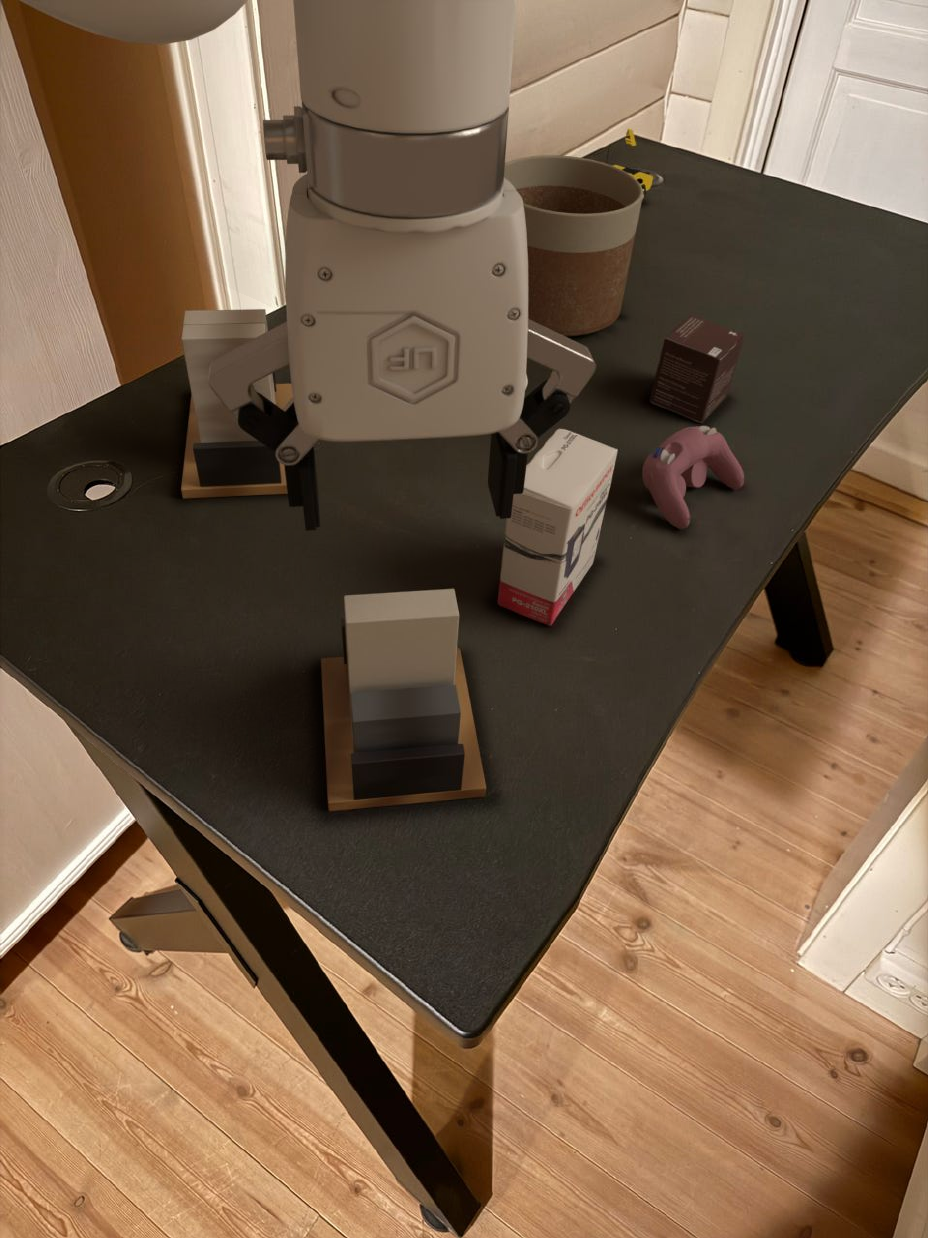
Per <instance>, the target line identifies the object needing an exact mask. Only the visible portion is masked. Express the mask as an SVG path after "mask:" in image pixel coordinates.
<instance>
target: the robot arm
mask: <svg viewBox="0 0 928 1238" xmlns="http://www.w3.org/2000/svg"><path fill="white" fill-rule="evenodd" d="M19 1H20V2H21V3H22V4H25V5H27V6H29V7H31V8H33V9H34V10H37V11H39V12H41V13H43V14H46V15H48V16H50V17H52V18H53V19H56V20H58V21H61V22H62V23H65V24H68V25H71V26H73V27H75V28H78V29H80V30H83V31H86V32H89V33H92V34H95V35H98V36H101V37H105V38H110V39H114V40H118V41H120V42H125V43H131V44H140V45H141V44H142V45H156V46H158V45H159V46H162V45H169V44H174V43H181V42H188V41H191V40H194V39H196V38H199V37H201V36H203V35H205V34H208V33H211V32H213V31H215V30H216V29H218V28H219V27H221V26H222V25H223V24H224V23H226V22H227V21H228V20H229V19H231V18H233V17H234V16H235V15H236V14H237V13H238V12H239V11H240V10H241V9H242V7H244V5H246V3H247V2H248V1H249V0H19ZM292 3H293V4H292V5H293V15H294V27H295V40H296V41H295V42H296V52H297V53H296V55H297V65H298V66H297V67H298V78H299V92H300V100H301V106H300V105H295V106H293V115H291V114H290V115H285V114H284V115H283V116H282V119H262V131H263V143H264V153H265V158H266V161H286V164H287V165H297V167H298V174H304V175H302V176H301V177H299V178H298V179H297V180H296V181H295V183H294V184H293V186H292V189H291V194H290V197H289V203H288V204H289V205H288V210H287V219H286V221H287V222H286V231H285V245H284V246H285V248H284V249H285V251H284V252H285V254H284V255H285V256H284V257H285V258H284V259H285V260H284V261H285V266H284V267H285V269H284V271H285V273H284V289H285V307H286V308H285V309H286V310H285V311H286V321H285V322H283V323H281V324H279V325H277V326H275V327H273V328H271V329H270V330H268V332H266V333H264V334H262V335H260V336H258V337H256V338H254V339H252V340H251V341H249V342H247V343H245V344H243V345H241V346H239V347H237V348H235V349H234V350H232V351H230V352H228V353H226V354H224V355H222V356H220V357H218V358H217V359H215V360H213V361H212V362H211V364H210V368H209V379H208V383H209V386H210V388H211V389H212V390H213V392H214V393H215V394H216V395H217V397H218V398H219V399H220V400H221V402H222V403H223V404H224V405H225V407H226V408H227V409H228V410H229V412H230V413H231V412H232V413H233V415H234V416H235V417H236V418H237V420H238V425H239V426H240V428H241V429H242V430H243V431H245V432H246V433H248V434H249V435H251V436H252V437H254V438H255V439H256V440H258V441H259V442H261V443H262V444H264V445H265V446H267V447H268V448H270V449H271V450H272V451H274V452H275V453H276V459H277V460H278V461H279V462H280V463H281V464H283V465H284V467H285V475H286V484H287V492H288V494H287V498H288V506H289V508H295V507H296V508H298V507H302V508H303V518H304V527H305V528H304V529H305V532H307V531H308V532H309V531H317V528H321V520H320V518H321V517H320V502H319V488H318V487H319V486H318V477H317V465H316V454H315V445H316V444H317V443H318V442H319V441H324V442H334V443H358V442H360V443H361V442H383V441H384V442H385V441H405V440H408V441H409V440H427V439H429V440H430V439H445V438H462V437H476V436H485V435H490V448H489V459H488V472H487V486H488V490H489V494H490V497H491V503H492V505H493V509H494V513H495V517H499V519H500V520H506V519H508V518H511V514H512V504H513V495H514V494H522V493H523V491H524V483H525V474H526V465H528V457H529V456H528V455H529V454H530V453H532V452H533V451H535V450H536V449H537V447H538V446H539V438H540V437H541V436H543V435H544V434H545V433H546V432H548V431H549V430H550V429H551V428H553V427H554V426H555V425H557V424H558V423H559V422H560V421H561V420H562V419H563V418H565V417H566V416H567V415H568V414H569V413H570V411H571V407H572V406H571V403H572V402H573V401H574V400H575V399H576V398H578V396H579V395H580V393H581V392H582V391H583V389H584V388H585V387H586V385H587V384H588V383H589V381H590V380H591V378H592V377H593V375H594V374H595V372H596V370H597V364H596V361H595V360H594V358H593V355H592V353H591V351H590V349H589V347H588V346H586V345H584V344H582V343H580V342H577V341H576V340H573V339H572V338H570V337H565V336H563V335H561V334H559V333H557V332H555V331H553V330H551V329H549V328H547V327H545V326H542V325H540V324H538V323H536V322H534V321H532V320H530V319H528V252H527V233H526V222H525V213H524V206H523V200H522V198H521V196H520V194H519V193H518V192H517V191H516V189H515V187H514V186H513V185H512V184H511V183H510V182H509V181H508V180H507V179H505V178H504V169H505V163H506V155H507V140H508V138H507V137H508V127H509V126H508V125H509V111H510V107H509V106H510V97H511V87H512V73H513V60H514V59H513V57H514V44H515V43H514V42H515V28H516V27H515V25H516V12H517V11H516V10H517V0H292ZM528 360H530V361H532V362H534V363H537V364H539V365H541V366H543V367H546V368H547V369H550V370H551V373H550V374H549V375H550V376H549V378H548V379H546V380H544V381H543V382H541V383H540V384H539V385H538V386H537V387H536V388H534V389H533V390H532V391H531V392H530V393H528V394H527V395H525V394H526V390H525V384H526V375H527V363H528ZM287 366H289V374H290V384H292V392H293V397H292V398H291V400H290V401H289V402H288V403H287V404H286V406H285V407H284V408H283V409H281V408H279V407H278V406H277V405H275V404H274V403H273V402H271V401H270V400H268V399H267V398H266V397H264V396H263V395H262V394H260V393H258V392H256V391H255V389H254V386H253V385H252V384H253V383H254V382H256V381H258V380H260V379H262V378H264V377H266V376H268V375H270V374H272V373H274V372H275V373H276V372H278V371H280V370H281V369H283V368H286V367H287Z"/></svg>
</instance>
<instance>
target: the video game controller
mask: <svg viewBox="0 0 928 1238" xmlns="http://www.w3.org/2000/svg"><path fill="white" fill-rule="evenodd" d="M708 468H709V469H710V470H711V471H712V472H713V473H714V475H715V476H716V477H717V478H718V479H719V481H721V482H722V483H723V484H724V485H725V486H726V487H728V488H730V489H732V490H735V491H737V490H739V489H741V488H742V487H743V486H744V483H745V474H744V470H743V468H742V466H741V464H740V462H739V461H738V460H737V457H735V455H734V453H733V452H732V450H731V448H730V447H729V445H728V443H727V441H726V439H725V437H724V435H723V434H722V433H720V432H719V431H717V428H716V427H709V426H708V425H701V426H699V425H698V426H697V425H696V426H687V427H684V428H681V429H680V430H677V431H676V432H674V433H673V434H671V435H670V436H669V437H667V439H665V440H664V441H663V442H662V443H661V444H660V445H659V447H658V448H657V449H656V450H655V451H653V452H651V453H650V454H649V455H648V456H647V457H646V459H645V460H644V461H643V466H642V470H641V471H642V472H641V473H642V481H643V485H644V487H645V488H646V489H647V490H648V491H649V493H650V495H651V497H652V499H653V501H654V503H655V505H656V507H657V509H658V510H659V511H660V513H661V514H662V516H663V518H665V520H666V521H667V522H668V523H669V524H670V525H672V526H673V527H675V528H676V529H679V530H684V529H687V528H688V527H689V525H690V523H691V515H690V511H689V507H688V505H687V503H686V501H685V499H684V497H685V495H686V492H687V488H701V487H702V486H703V485H704V484H705V482H706V479H707V472H708Z"/></svg>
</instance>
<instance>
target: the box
mask: <svg viewBox="0 0 928 1238" xmlns="http://www.w3.org/2000/svg"><path fill="white" fill-rule="evenodd" d="M745 338H746V335H745V333H743V332H741V331H738V330H735V329H732V328H729V327H727V326H723V325H721V324H718V323H715V322H712V321H709V320H707V319H704V318H701V317H699V316H696V315H694V314H690V315H689V316H688V317H687V318H685V319H684V320H683V321H682V322H681V323H680V324H679V325H677V326H676V327H675V328H674V329H672V330H671V331H670V332H669V333H668V334H667V335H666V336H665V337H664V340H663V345H662V348H661V351H660V356H659V361H658V364H657V367H656V372H655V376H654V380H653V384H652V389H651V394H650V395H649V396H650V397H649V402H650V403H651V404H652V405H655V406H657V407H660V408H662V409H666V410H667V411H670V412H673V413H676V414H678V415H681V416H682V417H685V418H687V419H689V420H692V421H694V422H696V423H700V424H703V423H704V422H705V421H706V420H707V419H708V418H709V416H710V415H712V413H713V412H714V411H715V410H716V409H717V408H718V407H719V406H720V405H721V404H723V402H724V401H725V400H726V398H727V397H728V393H729V390H730V386H731V384H732V380H733V377H734V374H735V371H736V367H737V364H738V360H739V357H740V354H741V351H742V347H743V344H744V340H745Z"/></svg>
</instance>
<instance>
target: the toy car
mask: <svg viewBox="0 0 928 1238" xmlns="http://www.w3.org/2000/svg"><path fill="white" fill-rule="evenodd" d="M625 136H626V137H625V139H624V140H625V145H628V146H631V147H635V146H637V142H636V139H635V133H634V130H633V129H630V128H627V130H626V133H625ZM628 136H629V138H628ZM609 152H610V148H608V150H607V154H609ZM608 159H609V155H607V156H606V160H608ZM605 163H606V164H608V161H606V162H605ZM612 166H614V167H616V168H619V169H621V170H623V171H625V172H626V173H628V174H630V175H631V176H632V177H634V178H635V179H636V180H637V181H638V182H639V184H640V185H641V187H642V190H643V197H642V202H641V204H642V203H643V202H644V199H645V197H646V194H647V191H650V189H651V187H652V185H653V181H654V176H653V175H651V174H648V173H644V172H641V170H637V169H633V168H631V167H627V166H625V167H624V166H621V165H617V164H614V165H612Z"/></svg>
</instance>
